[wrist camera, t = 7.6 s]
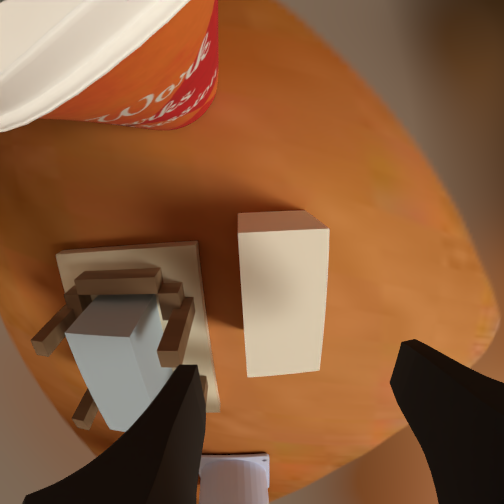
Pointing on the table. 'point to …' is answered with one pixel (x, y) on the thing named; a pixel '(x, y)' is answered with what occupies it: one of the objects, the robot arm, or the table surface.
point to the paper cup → (108, 61)
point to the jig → (139, 282)
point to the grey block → (120, 355)
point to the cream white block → (283, 290)
